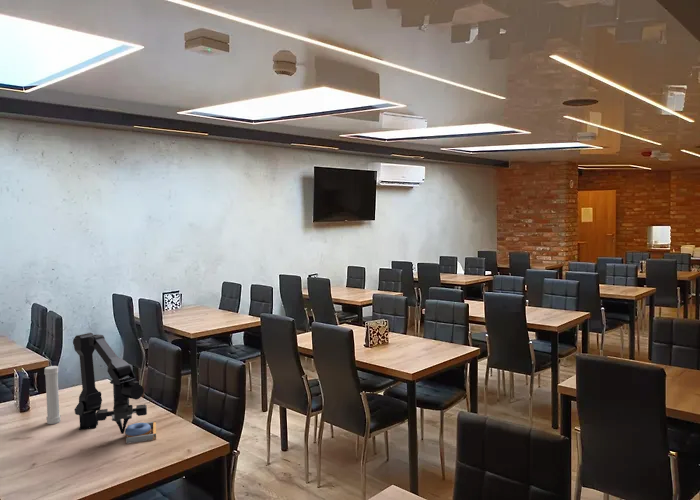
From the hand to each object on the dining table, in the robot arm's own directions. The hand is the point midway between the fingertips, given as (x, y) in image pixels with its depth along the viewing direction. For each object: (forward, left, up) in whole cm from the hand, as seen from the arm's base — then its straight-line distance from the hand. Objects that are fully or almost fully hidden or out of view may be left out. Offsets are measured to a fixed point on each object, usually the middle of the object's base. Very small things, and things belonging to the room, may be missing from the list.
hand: (122, 433), depth 219 cm
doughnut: (+6, 0, -2) cm, 6 cm away
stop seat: (+7, 0, -2) cm, 7 cm away
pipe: (-29, +29, -2) cm, 41 cm away
